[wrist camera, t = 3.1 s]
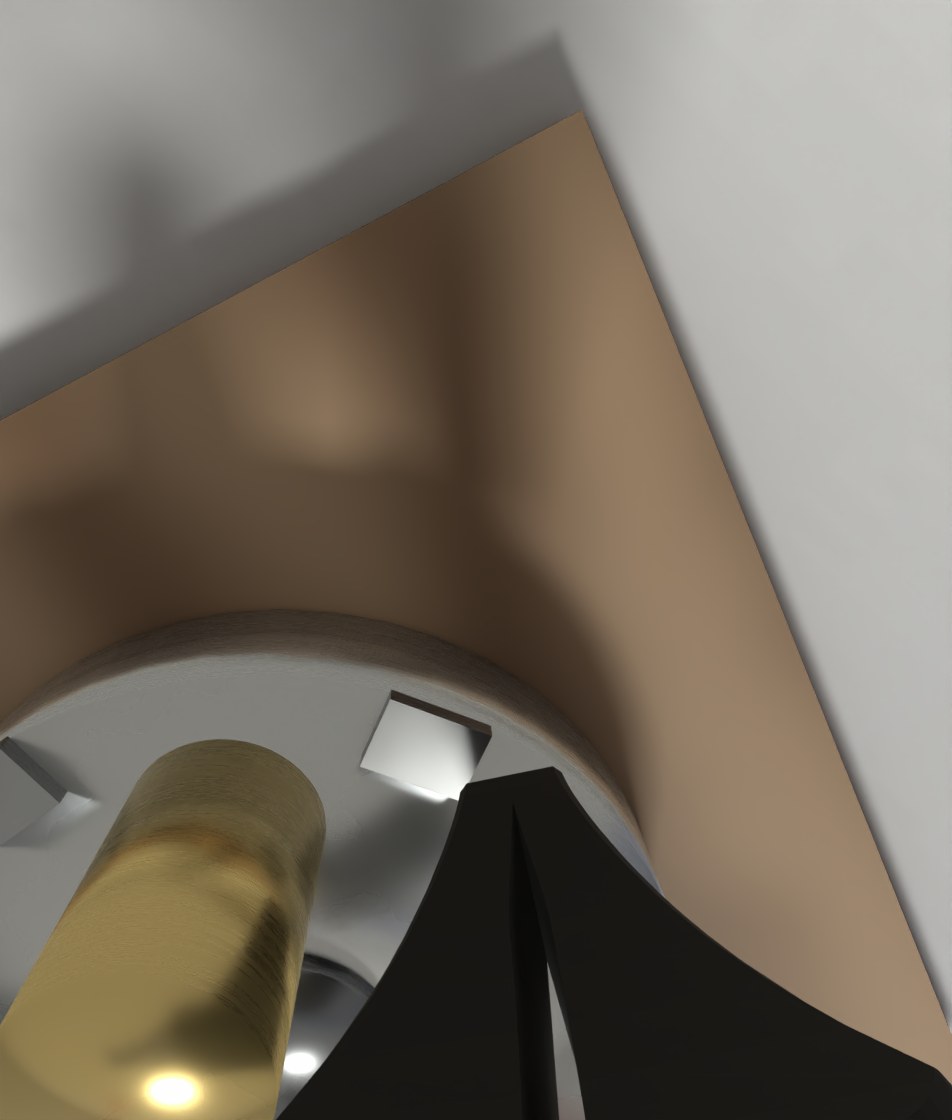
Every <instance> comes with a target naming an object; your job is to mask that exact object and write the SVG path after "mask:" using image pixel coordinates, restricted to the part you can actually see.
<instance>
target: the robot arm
mask: <svg viewBox="0 0 952 1120" xmlns="http://www.w3.org/2000/svg"><path fill="white" fill-rule="evenodd" d="M547 963H548V966H549V970H550V973H551V977H552V981H553V984H554V988H555V991H556V995H557V998H558V1002H559V1006H560V1009H561V1013H562V1016H563V1020H564V1023H565V1027H566V1031H567V1034H568V1038H569V1041H570V1045H571V1048H572V1052H573V1055H574V1059H575V1063H576V1067H577V1073H578V1079H579V1084H580V1090H581V1096H582V1102H583V1108H584V1114H585V1120H952V1085H951V1083H950V1082H949V1081H948V1080H947V1079H946V1078H945V1077H944V1076H943V1074H942V1073H941V1072H940V1071H939V1070H938V1069H936V1068H934V1067H933V1066H930V1065H928V1064H926V1063H924V1062H922V1061H920V1060H918V1059H916V1058H914V1057H912V1056H909V1055H907V1054H905V1053H903V1052H901V1051H899V1050H897V1049H895V1048H893V1047H891V1046H888V1045H886V1044H884V1043H882V1042H880V1041H878V1040H876V1039H874V1038H872V1037H870V1036H867V1035H865V1034H863V1033H861V1032H859V1031H857V1030H855V1029H853V1028H851V1027H849V1026H847V1025H845V1024H843V1023H841V1022H839V1021H837V1020H836V1019H834V1018H832V1017H830V1016H829V1015H827V1014H825V1013H823V1012H822V1011H820V1010H818V1009H816V1008H815V1007H813V1006H811V1005H809V1004H808V1003H806V1002H804V1001H803V1000H801V999H800V998H798V997H797V996H795V995H794V994H792V993H791V992H789V991H787V990H786V989H784V988H783V987H781V986H780V985H778V984H777V983H775V982H774V981H772V980H771V979H769V978H768V977H766V976H765V975H763V974H762V973H760V972H758V971H757V970H755V969H754V968H752V967H751V966H749V965H748V964H746V963H745V962H743V961H742V960H740V959H739V958H738V957H736V956H735V955H734V954H732V953H731V952H730V951H728V950H727V949H726V948H724V947H723V946H722V945H721V944H719V943H718V942H717V941H715V940H714V939H713V938H711V937H710V936H709V935H707V934H706V933H705V932H704V931H703V930H701V929H700V928H699V927H698V926H697V925H695V924H694V923H693V922H692V921H690V920H689V919H688V918H687V917H686V916H684V915H683V914H682V913H681V912H680V911H679V910H678V909H676V908H675V907H674V906H673V905H672V904H671V903H670V902H669V901H668V900H667V899H665V898H664V897H663V896H662V895H661V894H660V893H659V892H658V891H657V890H656V889H655V888H654V887H653V886H652V885H651V884H650V883H649V882H648V881H647V880H646V879H645V878H644V877H643V876H642V875H641V874H640V873H639V872H638V871H637V870H636V869H635V868H634V867H633V866H632V865H631V864H630V863H629V862H628V861H627V860H626V859H625V858H624V856H623V855H622V854H621V853H620V852H619V851H618V850H617V848H616V847H615V846H614V845H613V844H612V843H611V842H610V840H609V839H608V838H607V837H606V836H605V835H604V833H603V832H602V831H601V830H600V829H599V828H598V826H597V825H596V824H595V823H594V821H593V820H592V819H591V817H590V816H589V815H588V813H587V812H586V811H585V809H584V808H583V807H582V805H581V804H580V802H579V801H578V800H577V798H576V797H575V795H574V794H573V792H572V790H571V789H570V787H569V785H568V784H567V782H566V780H565V778H564V776H563V774H562V772H561V771H560V770H558V769H556V768H555V767H553V766H551V767H546V768H541V769H536V770H531V771H526V772H521V773H516V774H511V775H506V776H501V777H496V778H491V779H486V780H481V781H476V782H471V783H467V784H466V785H465V786H464V788H463V789H462V790H461V792H460V795H459V801H458V805H457V808H456V812H455V816H454V819H453V822H452V825H451V829H450V832H449V834H448V837H447V840H446V843H445V846H444V849H443V851H442V854H441V856H440V859H439V861H438V864H437V866H436V869H435V871H434V874H433V876H432V879H431V881H430V884H429V886H428V888H427V891H426V893H425V895H424V897H423V899H422V901H421V903H420V905H419V907H418V909H417V912H416V914H415V916H414V918H413V920H412V922H411V924H410V926H409V928H408V930H407V932H406V934H405V936H404V938H403V940H402V942H401V944H400V946H399V947H398V949H397V951H396V953H395V955H394V957H393V958H392V960H391V962H390V964H389V965H388V967H387V969H386V970H385V972H384V974H383V975H382V977H381V979H380V980H379V982H378V984H377V985H376V987H375V988H374V990H373V992H372V993H371V995H370V997H369V998H368V1000H367V1001H366V1003H365V1004H364V1006H363V1007H362V1009H361V1010H360V1011H359V1013H358V1014H357V1016H356V1017H355V1019H354V1020H353V1022H352V1023H351V1025H350V1026H349V1027H348V1029H347V1030H346V1032H345V1033H344V1035H343V1036H342V1038H341V1039H340V1041H339V1042H338V1043H337V1045H336V1046H335V1047H334V1049H333V1050H332V1051H331V1053H330V1054H329V1055H328V1057H327V1058H326V1059H325V1061H324V1062H323V1063H322V1065H321V1066H320V1067H319V1068H318V1070H317V1071H316V1072H315V1073H314V1074H313V1076H312V1077H311V1078H310V1079H309V1080H308V1082H307V1083H306V1084H305V1085H304V1086H303V1088H302V1089H301V1090H300V1091H299V1092H298V1094H297V1095H296V1096H295V1097H294V1098H293V1100H292V1101H291V1102H290V1103H289V1104H288V1106H287V1107H286V1108H285V1109H284V1110H283V1112H282V1113H281V1114H280V1115H279V1116H278V1118H277V1119H276V1120H559V1109H558V1096H557V1083H556V1069H555V1056H554V1043H553V1030H552V1017H551V1004H550V991H549V978H548V966H547Z"/></svg>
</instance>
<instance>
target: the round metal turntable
mask: <svg viewBox="0 0 952 1120" xmlns="http://www.w3.org/2000/svg"><path fill="white" fill-rule="evenodd" d="M551 766H553V767H555V768H556V769H558V770H560V771H561V772H562V774H563V776H564V778H565V780H566V782H567V784H568V785H569V787H570V789H571V790H572V792H573V794H574V795H575V797H576V798H577V800H578V801H579V802H580V804H581V805H582V807H583V808H584V809H585V811H586V812H587V813H588V815H589V816H590V817H591V819H592V820H593V821H594V823H595V824H596V825H597V826H598V828H599V829H600V830H601V831H602V832H603V833H604V835H605V836H606V837H607V838H608V839H609V840H610V842H611V843H612V844H613V845H614V846H615V847H616V848H617V850H618V851H619V852H620V853H621V854H622V855H623V856H624V858H625V859H626V860H627V861H628V862H629V863H630V864H631V865H632V866H633V867H634V868H635V869H636V870H637V871H638V872H639V873H640V874H641V875H642V876H643V877H644V878H645V879H646V880H647V881H648V882H649V883H650V884H651V885H652V886H653V887H654V888H655V889H656V890H657V891H658V892H659V893H660V894H661V895H662V896H663V897H664V894H663V892H662V889H661V886H660V884H659V881H658V878H657V875H656V873H655V870H654V867H653V865H652V862H651V859H650V856H649V854H648V851H647V848H646V846H645V843H644V840H643V838H642V835H641V832H640V829H639V827H638V824H637V821H636V819H635V816H634V814H633V812H632V810H631V808H630V806H629V804H628V802H627V800H626V798H625V796H624V793H623V791H622V789H621V787H620V785H619V783H618V781H617V780H616V778H615V777H614V775H613V774H612V772H611V771H610V769H609V768H608V766H607V765H606V764H605V762H604V761H603V759H602V758H601V756H600V755H599V753H598V752H597V750H596V749H595V747H594V746H593V745H592V744H591V743H590V742H589V741H588V740H587V739H586V737H585V736H584V735H583V734H582V733H581V732H580V731H579V730H578V729H577V728H576V727H575V726H574V724H573V723H572V722H571V721H570V720H569V719H568V718H567V717H566V716H565V715H564V714H563V713H562V712H561V711H560V710H558V709H557V708H556V707H555V706H554V705H552V704H551V703H550V702H549V701H547V700H546V699H545V698H544V697H543V696H541V695H540V694H539V693H538V692H536V691H535V690H534V689H533V688H532V687H530V686H529V685H528V684H526V683H525V682H523V681H522V680H520V679H518V678H517V677H515V676H513V675H512V674H510V673H509V672H507V671H505V670H504V669H502V668H500V667H499V666H497V665H496V664H494V663H492V662H491V661H489V660H487V659H486V658H484V657H481V656H479V655H477V654H475V653H473V652H470V651H468V650H466V649H464V648H461V647H459V646H457V645H455V644H453V643H450V642H448V641H446V640H444V639H442V638H439V637H436V636H433V635H430V634H426V633H423V632H420V631H417V630H413V629H410V628H407V627H404V626H401V625H397V624H394V623H391V622H386V621H381V620H375V619H370V618H364V617H359V616H353V615H348V614H342V613H335V612H319V611H303V610H286V609H281V610H264V611H247V612H230V613H225V614H219V615H214V616H208V617H203V618H197V619H192V620H186V621H181V622H176V623H173V624H170V625H167V626H164V627H160V628H157V629H154V630H151V631H148V632H145V633H141V634H138V635H135V636H132V637H129V638H126V639H124V640H122V641H120V642H118V643H116V644H114V645H111V646H109V647H107V648H105V649H103V650H101V651H99V652H96V653H94V654H92V655H90V656H88V657H86V658H84V659H82V660H80V661H78V662H77V663H75V664H74V665H72V666H71V667H69V668H68V669H66V670H65V671H63V672H61V673H60V674H58V675H57V676H55V677H54V678H52V679H51V680H49V681H48V682H46V683H44V684H43V685H41V686H40V687H39V688H38V689H37V690H36V691H34V692H33V693H32V694H31V695H30V696H29V697H28V698H26V699H25V700H24V701H23V702H22V703H21V704H20V705H18V706H17V707H16V708H15V709H14V710H13V711H12V712H10V713H9V714H8V715H7V716H6V717H5V718H4V719H3V720H2V721H1V722H0V1120H276V1119H277V1118H278V1116H279V1115H280V1114H281V1113H282V1112H283V1110H284V1109H285V1108H286V1107H287V1106H288V1104H289V1103H290V1102H291V1101H292V1100H293V1098H294V1097H295V1096H296V1095H297V1094H298V1092H299V1091H300V1090H301V1089H302V1088H303V1086H304V1085H305V1084H306V1083H307V1082H308V1080H309V1079H310V1078H311V1077H312V1076H313V1074H314V1073H315V1072H316V1071H317V1070H318V1068H319V1067H320V1066H321V1065H322V1063H323V1062H324V1061H325V1059H326V1058H327V1057H328V1055H329V1054H330V1053H331V1051H332V1050H333V1049H334V1047H335V1046H336V1045H337V1043H338V1042H339V1041H340V1039H341V1038H342V1036H343V1035H344V1033H345V1032H346V1030H347V1029H348V1027H349V1026H350V1025H351V1023H352V1022H353V1020H354V1019H355V1017H356V1016H357V1014H358V1013H359V1011H360V1010H361V1009H362V1007H363V1006H364V1004H365V1003H366V1001H367V1000H368V998H369V997H370V995H371V993H372V992H373V990H374V988H375V987H376V985H377V984H378V982H379V980H380V979H381V977H382V975H383V974H384V972H385V970H386V969H387V967H388V965H389V964H390V962H391V960H392V958H393V957H394V955H395V953H396V951H397V949H398V947H399V946H400V944H401V942H402V940H403V938H404V936H405V934H406V932H407V930H408V928H409V926H410V924H411V922H412V920H413V918H414V916H415V914H416V912H417V909H418V907H419V905H420V903H421V901H422V899H423V897H424V895H425V893H426V891H427V888H428V886H429V884H430V881H431V879H432V876H433V874H434V871H435V869H436V866H437V864H438V861H439V859H440V856H441V854H442V851H443V849H444V846H445V843H446V840H447V837H448V834H449V832H450V829H451V825H452V822H453V819H454V816H455V812H456V808H457V805H458V801H459V795H460V792H461V790H462V789H463V788H464V786H465V785H466V784H467V783H471V782H476V781H481V780H486V779H491V778H496V777H501V776H506V775H511V774H516V773H521V772H526V771H531V770H536V769H541V768H546V767H551ZM664 898H665V897H664ZM547 966H548V963H547ZM548 978H549V991H550V1004H551V1017H552V1030H553V1043H554V1056H555V1069H556V1083H557V1096H558V1109H559V1120H585V1114H584V1108H583V1102H582V1096H581V1090H580V1084H579V1079H578V1073H577V1067H576V1063H575V1059H574V1055H573V1052H572V1048H571V1045H570V1041H569V1038H568V1034H567V1031H566V1027H565V1023H564V1020H563V1016H562V1013H561V1009H560V1006H559V1002H558V998H557V995H556V991H555V988H554V984H553V981H552V977H551V973H550V970H549V966H548Z"/></svg>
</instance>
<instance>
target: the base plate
mask: <svg viewBox="0 0 952 1120" xmlns="http://www.w3.org/2000/svg"><path fill="white" fill-rule="evenodd" d="M281 609H286V610H303V611H319V612H335V613H342V614H348V615H353V616H359V617H364V618H370V619H375V620H381V621H386V622H391V623H394V624H397V625H401V626H404V627H407V628H410V629H413V630H417V631H420V632H423V633H426V634H430V635H433V636H436V637H439V638H442V639H444V640H446V641H448V642H450V643H453V644H455V645H457V646H459V647H461V648H464V649H466V650H468V651H470V652H473V653H475V654H477V655H479V656H481V657H484V658H486V659H487V660H489V661H491V662H492V663H494V664H496V665H497V666H499V667H500V668H502V669H504V670H505V671H507V672H509V673H510V674H512V675H513V676H515V677H517V678H518V679H520V680H522V681H523V682H525V683H526V684H528V685H529V686H530V687H532V688H533V689H534V690H535V691H536V692H538V693H539V694H540V695H541V696H543V697H544V698H545V699H546V700H547V701H549V702H550V703H551V704H552V705H554V706H555V707H556V708H557V709H558V710H560V711H561V712H562V713H563V714H564V715H565V716H566V717H567V718H568V719H569V720H570V721H571V722H572V723H573V724H574V726H575V727H576V728H577V729H578V730H579V731H580V732H581V733H582V734H583V735H584V736H585V737H586V739H587V740H588V741H589V742H590V743H591V744H592V745H593V746H594V747H595V749H596V750H597V752H598V753H599V755H600V756H601V758H602V759H603V761H604V762H605V764H606V765H607V766H608V768H609V769H610V771H611V772H612V774H613V775H614V777H615V778H616V780H617V781H618V783H619V785H620V787H621V789H622V791H623V793H624V796H625V798H626V800H627V802H628V804H629V806H630V808H631V810H632V812H633V814H634V816H635V819H636V821H637V824H638V827H639V829H640V832H641V835H642V838H643V840H644V843H645V846H646V848H647V851H648V854H649V856H650V859H651V862H652V865H653V867H654V870H655V873H656V875H657V878H658V881H659V884H660V886H661V889H662V892H663V894H664V897H665V899H667V900H668V901H669V902H670V903H671V904H672V905H673V906H674V907H675V908H676V909H678V910H679V911H680V912H681V913H682V914H683V915H684V916H686V917H687V918H688V919H689V920H690V921H692V922H693V923H694V924H695V925H697V926H698V927H699V928H700V929H701V930H703V931H704V932H705V933H706V934H707V935H709V936H710V937H711V938H713V939H714V940H715V941H717V942H718V943H719V944H721V945H722V946H723V947H724V948H726V949H727V950H728V951H730V952H731V953H732V954H734V955H735V956H736V957H738V958H739V959H740V960H742V961H743V962H745V963H746V964H748V965H749V966H751V967H752V968H754V969H755V970H757V971H758V972H760V973H762V974H763V975H765V976H766V977H768V978H769V979H771V980H772V981H774V982H775V983H777V984H778V985H780V986H781V987H783V988H784V989H786V990H787V991H789V992H791V993H792V994H794V995H795V996H797V997H798V998H800V999H801V1000H803V1001H804V1002H806V1003H808V1004H809V1005H811V1006H813V1007H815V1008H816V1009H818V1010H820V1011H822V1012H823V1013H825V1014H827V1015H829V1016H830V1017H832V1018H834V1019H836V1020H837V1021H839V1022H841V1023H843V1024H845V1025H847V1026H849V1027H851V1028H853V1029H855V1030H857V1031H859V1032H861V1033H863V1034H865V1035H867V1036H870V1037H872V1038H874V1039H876V1040H878V1041H880V1042H882V1043H884V1044H886V1045H888V1046H891V1047H893V1048H895V1049H897V1050H899V1051H901V1052H903V1053H905V1054H907V1055H909V1056H912V1057H914V1058H916V1059H918V1060H920V1061H922V1062H924V1063H926V1064H928V1065H930V1066H933V1067H934V1068H936V1069H938V1070H939V1071H940V1072H941V1073H942V1074H943V1076H944V1077H945V1078H946V1079H947V1080H948V1081H949V1082H950V1083H951V1085H952V1034H951V1032H950V1029H949V1027H948V1024H947V1022H946V1019H945V1017H944V1014H943V1012H942V1009H941V1007H940V1004H939V1002H938V999H937V997H936V994H935V992H934V989H933V987H932V984H931V982H930V979H929V977H928V974H927V972H926V969H925V967H924V964H923V962H922V959H921V957H920V954H919V952H918V949H917V947H916V944H915V942H914V939H913V937H912V934H911V932H910V929H909V927H908V924H907V922H906V919H905V917H904V914H903V912H902V909H901V907H900V904H899V902H898V899H897V897H896V894H895V892H894V889H893V887H892V884H891V882H890V879H889V877H888V874H887V872H886V869H885V867H884V864H883V862H882V859H881V857H880V854H879V852H878V849H877V847H876V844H875V842H874V839H873V837H872V834H871V832H870V829H869V827H868V824H867V822H866V819H865V817H864V814H863V812H862V809H861V807H860V804H859V802H858V799H857V797H856V794H855V792H854V789H853V787H852V784H851V782H850V779H849V777H848V774H847V772H846V769H845V767H844V764H843V762H842V759H841V757H840V754H839V752H838V749H837V747H836V744H835V742H834V739H833V737H832V734H831V732H830V729H829V727H828V724H827V722H826V719H825V717H824V714H823V712H822V709H821V707H820V704H819V702H818V699H817V697H816V694H815V692H814V689H813V687H812V684H811V682H810V679H809V677H808V674H807V672H806V669H805V667H804V664H803V662H802V659H801V657H800V654H799V652H798V649H797V647H796V644H795V642H794V639H793V637H792V634H791V632H790V629H789V627H788V624H787V622H786V619H785V617H784V614H783V611H782V609H781V606H780V604H779V601H778V599H777V596H776V594H775V591H774V589H773V586H772V584H771V581H770V579H769V576H768V574H767V571H766V569H765V566H764V564H763V561H762V559H761V556H760V554H759V551H758V549H757V546H756V544H755V541H754V539H753V536H752V534H751V531H750V529H749V526H748V524H747V521H746V519H745V516H744V514H743V511H742V509H741V506H740V504H739V501H738V499H737V496H736V494H735V491H734V489H733V486H732V484H731V481H730V479H729V476H728V474H727V471H726V469H725V466H724V464H723V461H722V459H721V456H720V454H719V451H718V449H717V446H716V444H715V441H714V439H713V436H712V434H711V431H710V429H709V426H708V424H707V421H706V419H705V416H704V414H703V411H702V409H701V406H700V404H699V401H698V399H697V396H696V394H695V391H694V389H693V386H692V384H691V381H690V379H689V376H688V374H687V371H686V369H685V366H684V364H683V361H682V359H681V356H680V354H679V351H678V349H677V346H676V344H675V341H674V339H673V336H672V334H671V331H670V329H669V326H668V324H667V321H666V319H665V316H664V314H663V311H662V309H661V306H660V304H659V301H658V299H657V296H656V294H655V291H654V289H653V286H652V284H651V281H650V279H649V276H648V274H647V271H646V269H645V266H644V264H643V261H642V259H641V256H640V254H639V251H638V249H637V246H636V244H635V241H634V239H633V236H632V234H631V231H630V229H629V226H628V224H627V221H626V219H625V216H624V214H623V211H622V209H621V206H620V204H619V201H618V199H617V196H616V194H615V191H614V189H613V186H612V183H611V181H610V178H609V176H608V173H607V171H606V168H605V166H604V163H603V161H602V158H601V156H600V153H599V151H598V148H597V146H596V143H595V141H594V138H593V136H592V133H591V131H590V128H589V126H588V123H587V121H586V118H585V116H584V113H583V111H582V110H580V111H579V112H577V113H575V114H573V115H571V116H569V117H567V118H565V119H564V120H562V121H560V122H558V123H556V124H554V125H552V126H550V127H549V128H547V129H545V130H543V131H541V132H539V133H537V134H535V135H534V136H532V137H530V138H528V139H526V140H524V141H522V142H520V143H519V144H517V145H515V146H513V147H511V148H509V149H507V150H506V151H504V152H502V153H500V154H498V155H496V156H494V157H492V158H491V159H489V160H487V161H485V162H483V163H481V164H479V165H477V166H476V167H474V168H472V169H470V170H468V171H466V172H464V173H462V174H461V175H459V176H457V177H455V178H453V179H451V180H449V181H447V182H446V183H444V184H442V185H440V186H438V187H436V188H434V189H433V190H431V191H429V192H427V193H425V194H423V195H421V196H419V197H418V198H416V199H414V200H412V201H410V202H408V203H406V204H404V205H403V206H401V207H399V208H397V209H395V210H393V211H391V212H389V213H388V214H386V215H384V216H382V217H380V218H378V219H376V220H374V221H373V222H371V223H369V224H367V225H365V226H363V227H361V228H360V229H358V230H356V231H354V232H352V233H350V234H348V235H346V236H345V237H343V238H341V239H339V240H337V241H335V242H333V243H331V244H330V245H328V246H326V247H324V248H322V249H320V250H318V251H316V252H315V253H313V254H311V255H309V256H307V257H305V258H303V259H301V260H300V261H298V262H296V263H294V264H292V265H290V266H288V267H287V268H285V269H283V270H281V271H279V272H277V273H275V274H273V275H272V276H270V277H268V278H266V279H264V280H262V281H260V282H258V283H257V284H255V285H253V286H251V287H249V288H247V289H245V290H243V291H242V292H240V293H238V294H236V295H234V296H232V297H230V298H228V299H227V300H225V301H223V302H221V303H219V304H217V305H215V306H214V307H212V308H210V309H208V310H206V311H204V312H202V313H200V314H199V315H197V316H195V317H193V318H191V319H189V320H187V321H185V322H184V323H182V324H180V325H178V326H176V327H174V328H172V329H170V330H169V331H167V332H165V333H163V334H161V335H159V336H157V337H156V338H154V339H152V340H150V341H148V342H146V343H144V344H142V345H141V346H139V347H137V348H135V349H133V350H131V351H129V352H127V353H126V354H124V355H122V356H120V357H118V358H116V359H114V360H112V361H111V362H109V363H107V364H105V365H103V366H101V367H99V368H97V369H96V370H94V371H92V372H90V373H88V374H86V375H84V376H83V377H81V378H79V379H77V380H75V381H73V382H71V383H69V384H68V385H66V386H64V387H62V388H60V389H58V390H56V391H54V392H53V393H51V394H49V395H47V396H45V397H43V398H41V399H39V400H38V401H36V402H34V403H32V404H30V405H28V406H26V407H24V408H23V409H21V410H19V411H17V412H15V413H13V414H11V415H10V416H8V417H6V418H4V419H2V420H0V722H1V721H2V720H3V719H4V718H5V717H6V716H7V715H8V714H9V713H10V712H12V711H13V710H14V709H15V708H16V707H17V706H18V705H20V704H21V703H22V702H23V701H24V700H25V699H26V698H28V697H29V696H30V695H31V694H32V693H33V692H34V691H36V690H37V689H38V688H39V687H40V686H41V685H43V684H44V683H46V682H48V681H49V680H51V679H52V678H54V677H55V676H57V675H58V674H60V673H61V672H63V671H65V670H66V669H68V668H69V667H71V666H72V665H74V664H75V663H77V662H78V661H80V660H82V659H84V658H86V657H88V656H90V655H92V654H94V653H96V652H99V651H101V650H103V649H105V648H107V647H109V646H111V645H114V644H116V643H118V642H120V641H122V640H124V639H126V638H129V637H132V636H135V635H138V634H141V633H145V632H148V631H151V630H154V629H157V628H160V627H164V626H167V625H170V624H173V623H176V622H181V621H186V620H192V619H197V618H203V617H208V616H214V615H219V614H225V613H230V612H247V611H264V610H281Z"/></svg>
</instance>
